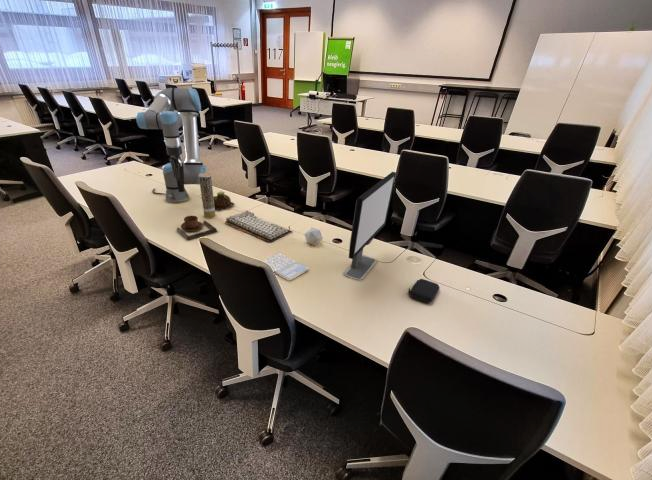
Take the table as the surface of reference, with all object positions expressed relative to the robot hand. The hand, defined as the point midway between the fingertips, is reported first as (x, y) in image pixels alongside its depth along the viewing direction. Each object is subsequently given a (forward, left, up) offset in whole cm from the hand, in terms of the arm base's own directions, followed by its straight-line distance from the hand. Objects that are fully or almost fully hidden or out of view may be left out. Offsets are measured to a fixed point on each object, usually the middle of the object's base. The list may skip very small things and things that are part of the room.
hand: (181, 191), depth 182 cm
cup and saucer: (+9, -1, -19) cm, 21 cm away
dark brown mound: (-10, +29, -19) cm, 36 cm away
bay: (+14, -1, -19) cm, 23 cm away
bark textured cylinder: (0, +15, -19) cm, 24 cm away
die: (+64, +42, -19) cm, 79 cm away
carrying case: (+126, +49, -19) cm, 136 cm away
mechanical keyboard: (+30, +29, -19) cm, 46 cm away
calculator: (+74, +14, -19) cm, 77 cm away
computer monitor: (+96, +44, -19) cm, 107 cm away
